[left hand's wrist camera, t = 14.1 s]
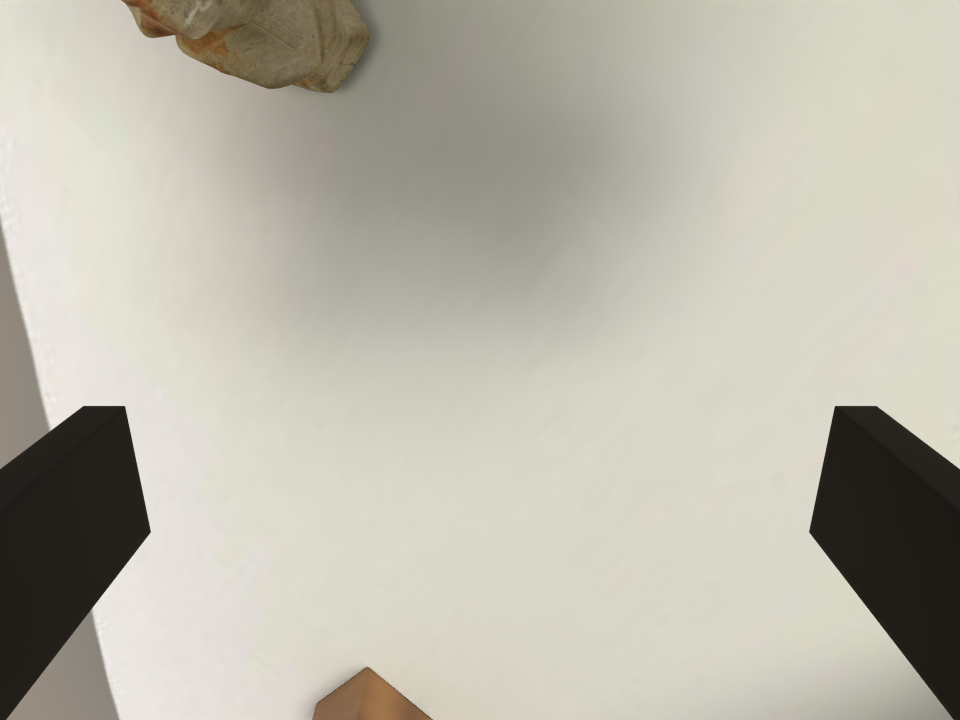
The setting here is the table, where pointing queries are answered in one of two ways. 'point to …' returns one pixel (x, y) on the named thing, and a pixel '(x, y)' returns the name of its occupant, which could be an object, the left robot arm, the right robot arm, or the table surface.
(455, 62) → the table surface
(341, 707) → the bar
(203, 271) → the table surface
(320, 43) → the sculpture
